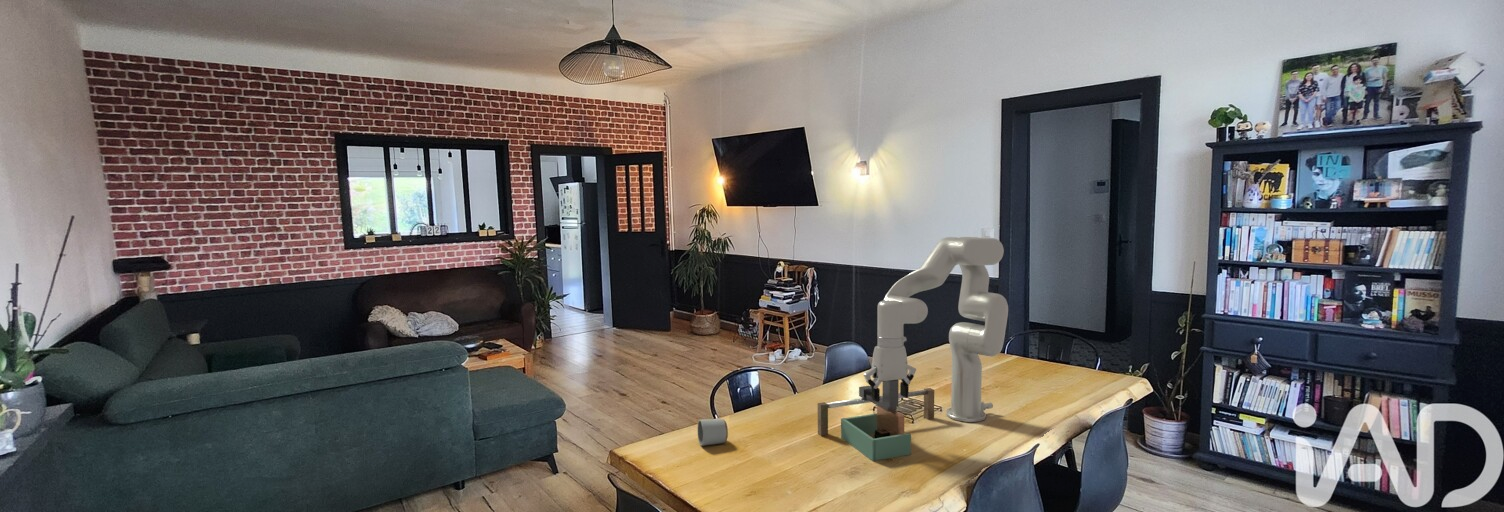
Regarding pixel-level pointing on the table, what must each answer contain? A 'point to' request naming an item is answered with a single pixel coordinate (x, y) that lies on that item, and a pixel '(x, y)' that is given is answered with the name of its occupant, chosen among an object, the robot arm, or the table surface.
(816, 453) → the table surface
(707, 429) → the ceramic mug
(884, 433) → the black block
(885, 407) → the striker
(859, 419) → the box
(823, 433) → the rod rail
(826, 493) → the table surface
